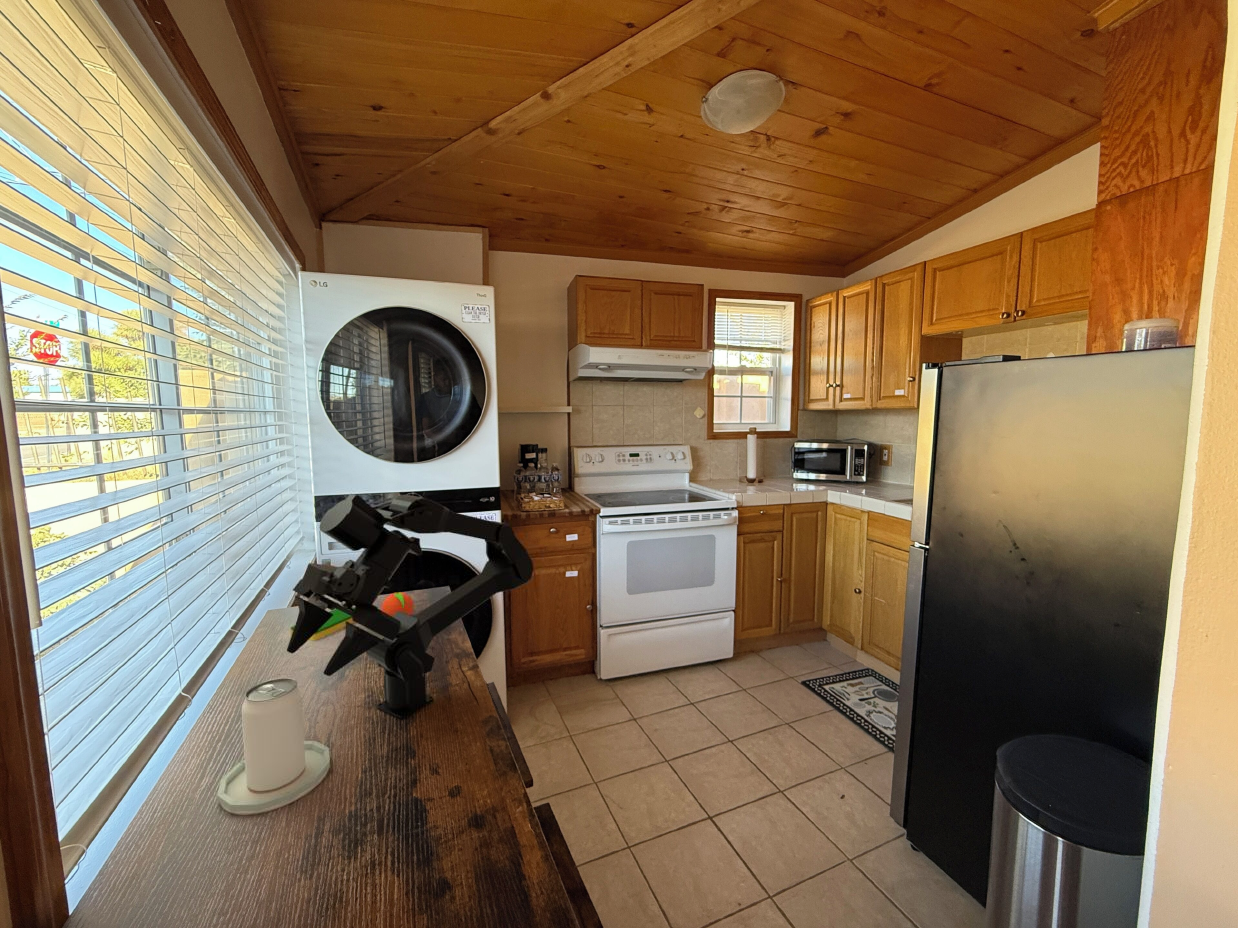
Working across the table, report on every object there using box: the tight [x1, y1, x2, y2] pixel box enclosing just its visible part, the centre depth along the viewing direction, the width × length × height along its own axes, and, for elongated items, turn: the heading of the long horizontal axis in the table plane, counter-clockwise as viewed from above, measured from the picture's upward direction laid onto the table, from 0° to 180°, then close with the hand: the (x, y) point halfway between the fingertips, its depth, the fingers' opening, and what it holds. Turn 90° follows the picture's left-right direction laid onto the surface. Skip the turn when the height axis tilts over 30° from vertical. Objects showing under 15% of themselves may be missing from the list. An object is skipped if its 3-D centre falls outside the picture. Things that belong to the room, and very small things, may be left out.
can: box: [241, 677, 305, 792], centre depth 66 cm, size 6×6×12 cm
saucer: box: [216, 740, 331, 816], centre depth 67 cm, size 12×12×1 cm
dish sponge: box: [290, 606, 356, 642], centre depth 116 cm, size 7×14×2 cm, turn 160°
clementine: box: [380, 591, 415, 616], centre depth 118 cm, size 8×7×7 cm
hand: (307, 663), depth 72 cm, fingers open, 9 cm apart
